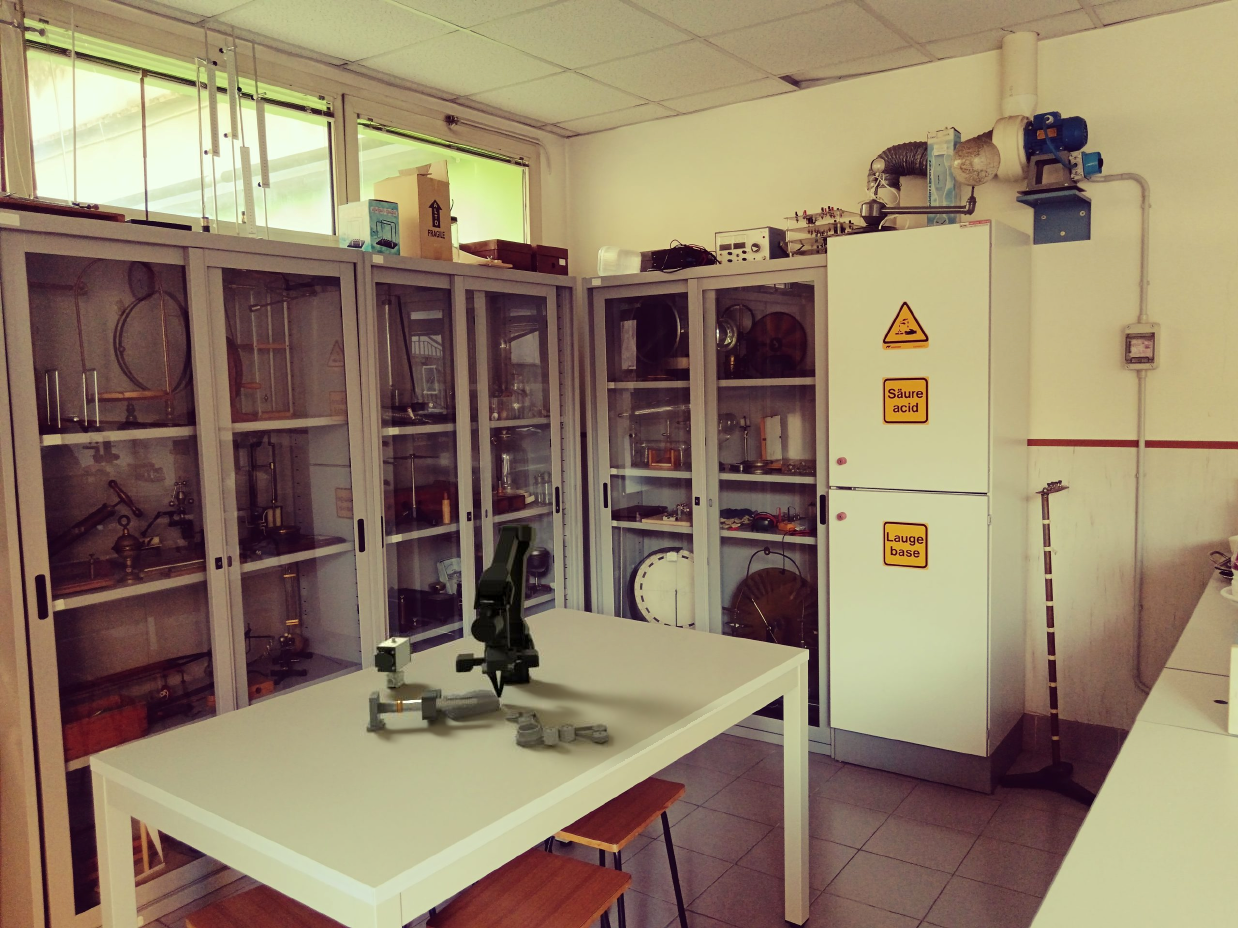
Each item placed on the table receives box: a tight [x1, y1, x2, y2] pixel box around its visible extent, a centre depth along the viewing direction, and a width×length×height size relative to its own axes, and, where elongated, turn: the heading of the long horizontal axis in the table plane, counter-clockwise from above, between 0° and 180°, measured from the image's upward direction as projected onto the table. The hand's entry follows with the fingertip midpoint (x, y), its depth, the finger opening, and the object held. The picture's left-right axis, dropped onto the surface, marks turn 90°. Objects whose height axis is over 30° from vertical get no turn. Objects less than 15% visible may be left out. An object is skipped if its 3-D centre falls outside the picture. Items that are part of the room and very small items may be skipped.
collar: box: [420, 688, 443, 721], centre depth 199 cm, size 3×14×5 cm, turn 7°
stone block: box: [441, 689, 501, 720], centre depth 203 cm, size 12×5×10 cm
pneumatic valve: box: [374, 636, 413, 689], centre depth 221 cm, size 6×12×12 cm, turn 168°
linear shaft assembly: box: [366, 691, 478, 732], centre depth 194 cm, size 23×5×7 cm, turn 97°
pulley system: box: [504, 709, 609, 748], centre depth 187 cm, size 27×5×15 cm
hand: (499, 697), depth 206 cm, fingers closed
